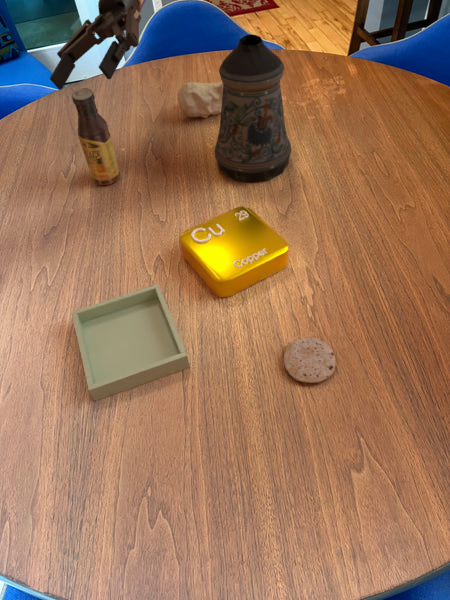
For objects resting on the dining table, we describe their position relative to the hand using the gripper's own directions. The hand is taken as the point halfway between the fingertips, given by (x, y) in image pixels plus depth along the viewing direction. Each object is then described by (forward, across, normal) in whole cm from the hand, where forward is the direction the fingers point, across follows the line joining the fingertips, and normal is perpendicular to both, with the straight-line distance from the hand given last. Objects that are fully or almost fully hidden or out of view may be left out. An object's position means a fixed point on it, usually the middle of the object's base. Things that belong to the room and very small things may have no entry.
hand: (79, 78), depth 90 cm
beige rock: (-24, -3, -33) cm, 41 cm away
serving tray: (+44, -23, -16) cm, 52 cm away
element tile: (+22, -30, -26) cm, 45 cm away
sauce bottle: (+8, +6, -19) cm, 22 cm away
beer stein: (-7, -20, -32) cm, 39 cm away
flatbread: (+39, -48, -26) cm, 67 cm away
